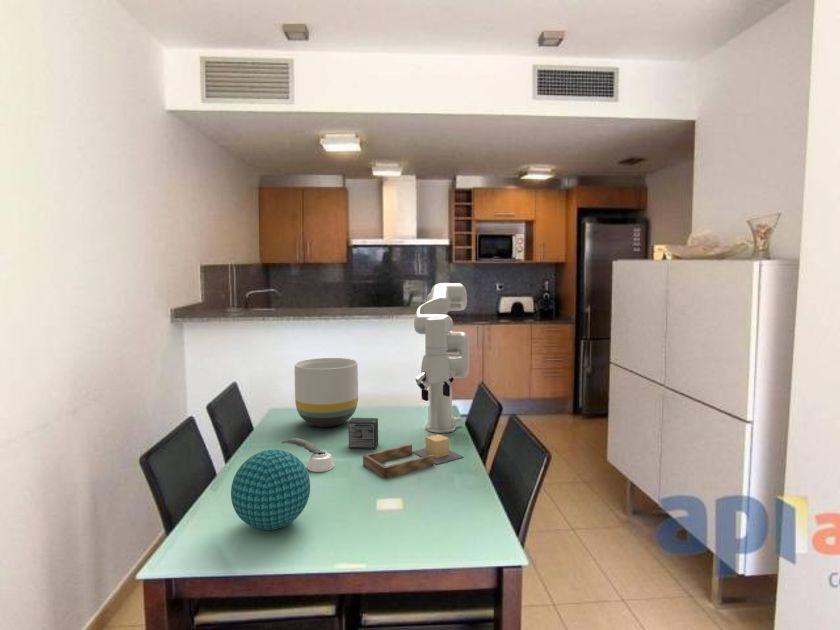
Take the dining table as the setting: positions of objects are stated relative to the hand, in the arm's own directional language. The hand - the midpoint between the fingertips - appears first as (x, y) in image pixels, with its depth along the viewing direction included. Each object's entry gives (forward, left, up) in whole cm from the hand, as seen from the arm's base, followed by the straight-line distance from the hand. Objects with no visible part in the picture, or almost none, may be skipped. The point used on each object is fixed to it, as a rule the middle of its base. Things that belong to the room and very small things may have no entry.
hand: (435, 398), depth 190 cm
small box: (+17, -22, -21) cm, 35 cm away
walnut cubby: (+16, +2, -21) cm, 27 cm away
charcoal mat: (0, +2, -21) cm, 21 cm away
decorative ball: (+67, +18, -21) cm, 73 cm away
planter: (+16, -56, -21) cm, 62 cm away
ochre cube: (0, +2, -20) cm, 20 cm away
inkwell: (+43, -15, -21) cm, 50 cm away
